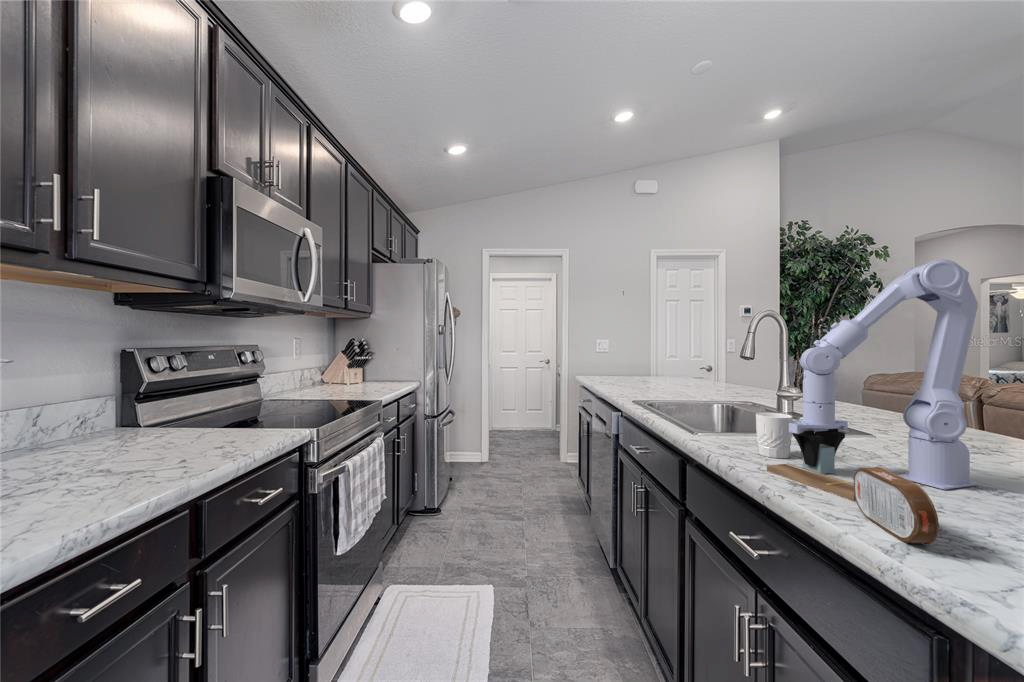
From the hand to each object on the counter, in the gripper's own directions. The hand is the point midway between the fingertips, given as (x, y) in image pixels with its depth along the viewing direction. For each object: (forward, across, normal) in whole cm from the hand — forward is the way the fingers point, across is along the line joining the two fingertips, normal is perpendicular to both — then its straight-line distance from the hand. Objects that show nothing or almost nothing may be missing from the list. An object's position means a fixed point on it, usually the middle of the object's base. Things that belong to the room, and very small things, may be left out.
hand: (818, 464), depth 93 cm
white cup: (+2, -2, -13) cm, 13 cm away
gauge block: (+1, 0, 0) cm, 1 cm away
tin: (+2, +18, +25) cm, 31 cm away
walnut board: (+1, +8, +6) cm, 10 cm away
